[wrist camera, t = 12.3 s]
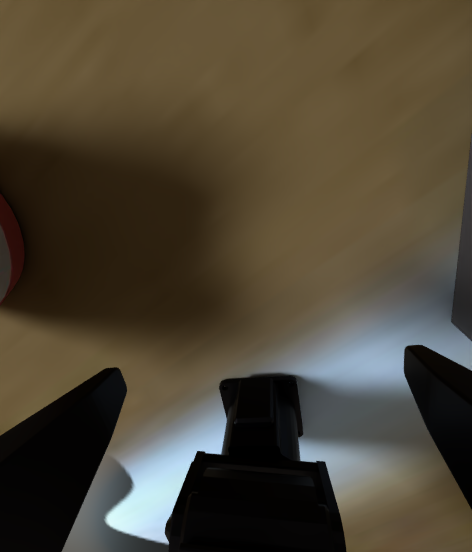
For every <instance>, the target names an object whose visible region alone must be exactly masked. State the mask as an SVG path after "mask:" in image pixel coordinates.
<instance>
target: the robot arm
mask: <svg viewBox="0 0 472 552" xmlns="http://www.w3.org/2000/svg"><path fill="white" fill-rule="evenodd" d="M404 374H405V377H406V380H407V382H408V385H409V387H410V389H411V392H412V394H413V396H414V399H415V401H416V404H417V406H418V408H419V411H420V413H421V416H422V418H423V420H424V422H425V425H426V427H427V429H428V431H429V433H430V435H431V437H432V439H433V440H434V442H435V444H436V446H437V448H438V449H439V451H440V453H441V455H442V457H443V459H444V460H445V462H446V464H447V466H448V468H449V469H450V471H451V473H452V475H453V477H454V478H455V480H456V482H457V484H458V486H459V487H460V489H461V491H462V493H463V495H464V496H465V498H466V500H467V502H468V504H469V506H470V507H471V509H472V371H471V370H469V369H467V368H465V367H463V366H462V365H460V364H458V363H456V362H454V361H452V360H450V359H448V358H446V357H444V356H442V355H440V354H438V353H437V352H435V351H433V350H431V349H429V348H427V347H425V346H423V345H410V346H407V347H406V348H405V352H404ZM289 382H293V383H289ZM224 386H227V387H224ZM219 389H220V393H221V397H222V401H223V405H224V409H225V413H226V417H227V423H226V429H225V435H224V441H223V447H222V453H221V454H209V453H205V452H203V451H197V453H196V456H195V458H194V461H193V462H192V463H191V465H190V468H189V470H188V473H187V475H186V478H185V481H184V483H183V486H182V488H181V491H180V493H179V496H178V498H177V501H176V504H175V506H174V509H173V512H172V514H171V516H170V517H169V519H168V521H167V523H166V527H165V535H166V537H167V539H168V541H169V552H346V544H345V537H344V531H343V526H342V521H341V517H340V513H339V509H338V506H337V502H336V499H335V495H334V492H333V488H332V485H331V481H330V478H329V474H328V471H327V467H326V463H325V462H323V461H316V462H305V461H300V451H299V441H298V437H301V436H302V435H303V427H302V419H301V411H300V403H299V395H298V387H297V380H296V378H295V377H293V376H283V377H267V378H251V379H234V380H223V381H221V382H220V386H219ZM126 393H127V386H126V383H125V381H124V378H123V376H122V373H121V371H120V369H119V368H117V367H114V368H106V369H104V370H102V371H101V372H99V373H98V374H96V375H94V376H93V377H91V378H90V379H88V380H87V381H85V382H83V383H82V384H80V385H79V386H77V387H76V388H74V389H73V390H71V391H69V392H68V393H66V394H65V395H63V396H62V397H60V398H58V399H57V400H55V401H54V402H52V403H51V404H49V405H48V406H46V407H44V408H43V409H41V410H40V411H38V412H37V413H35V414H33V415H32V416H30V417H29V418H27V419H26V420H24V421H22V422H21V423H19V424H18V425H16V426H15V427H13V428H12V429H10V430H8V431H7V432H5V433H4V434H2V435H1V436H0V552H61V551H62V549H63V547H64V545H65V542H66V540H67V538H68V536H69V534H70V531H71V529H72V527H73V524H74V522H75V520H76V518H77V515H78V513H79V511H80V508H81V506H82V504H83V502H84V499H85V497H86V495H87V493H88V490H89V488H90V486H91V484H92V481H93V479H94V476H95V474H96V472H97V470H98V467H99V465H100V463H101V461H102V459H103V456H104V454H105V452H106V449H107V447H108V445H109V442H110V440H111V438H112V435H113V432H114V429H115V426H116V423H117V420H118V417H119V414H120V411H121V408H122V405H123V402H124V399H125V396H126Z"/></svg>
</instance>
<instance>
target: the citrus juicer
mask: <svg viewBox="0 0 472 552" xmlns="http://www.w3.org/2000/svg"><path fill="white" fill-rule="evenodd" d="M24 257H25V253H24V242H23V238H22V234H21V231H20V227H19V225H18V222H17V220H16V218H15V216H14V214H13V212H12V210H11V208H10V207H9V205H8V204H7V202H6V201H5V199H4V197H3V196H2V195H1V193H0V305H1V304H2V302H3V301H4V300H5V298H6V297H7V296H8V294H9V293H10V292H11V290H12V289H13V287H14V286H15V284H16V283H17V281H18V280H19V278H20V275H21V273H22V270H23V266H24Z"/></svg>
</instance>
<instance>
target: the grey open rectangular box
mask: <svg viewBox="0 0 472 552" xmlns="http://www.w3.org/2000/svg"><path fill="white" fill-rule="evenodd" d="M451 322H452V323H453V324H454V325H455V326H456V327H457V328H458V329H459V330H460V331H461V332H462V333H464V334H465V335H466V336H467V337H468V338H469V339H470V340H471V341H472V136H471V145H470V154H469V164H468V173H467V182H466V191H465V200H464V209H463V218H462V228H461V237H460V246H459V255H458V264H457V273H456V282H455V291H454V301H453V310H452V319H451Z"/></svg>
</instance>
